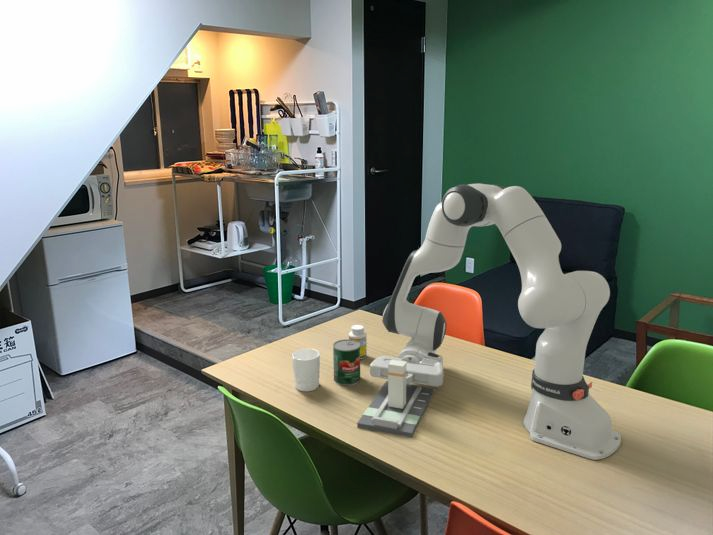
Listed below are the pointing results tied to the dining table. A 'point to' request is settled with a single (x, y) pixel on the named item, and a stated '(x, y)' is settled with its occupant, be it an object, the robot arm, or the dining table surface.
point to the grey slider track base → (397, 411)
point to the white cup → (306, 369)
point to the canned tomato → (346, 362)
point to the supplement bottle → (359, 339)
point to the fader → (397, 383)
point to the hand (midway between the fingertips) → (399, 383)
